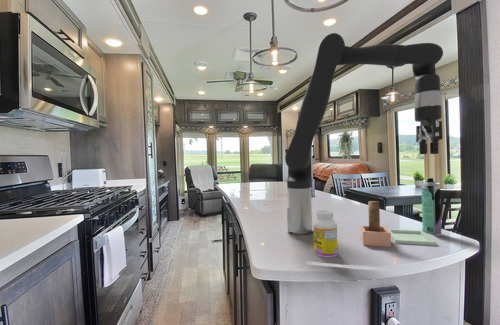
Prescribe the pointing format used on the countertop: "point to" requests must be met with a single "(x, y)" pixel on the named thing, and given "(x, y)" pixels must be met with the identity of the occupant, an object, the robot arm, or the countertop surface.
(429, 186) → the spray can
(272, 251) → the countertop surface
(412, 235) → the tray
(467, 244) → the countertop surface
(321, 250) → the supplement bottle
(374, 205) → the dowel
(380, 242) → the peach planter box
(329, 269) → the countertop surface
